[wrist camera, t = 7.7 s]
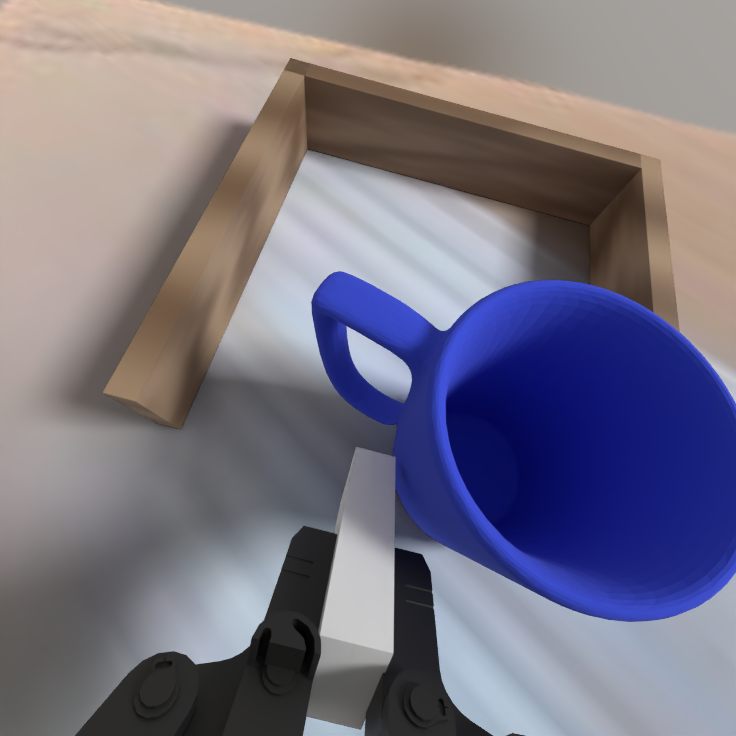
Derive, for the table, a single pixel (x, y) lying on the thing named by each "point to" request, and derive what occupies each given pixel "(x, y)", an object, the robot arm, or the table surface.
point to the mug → (555, 440)
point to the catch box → (400, 155)
